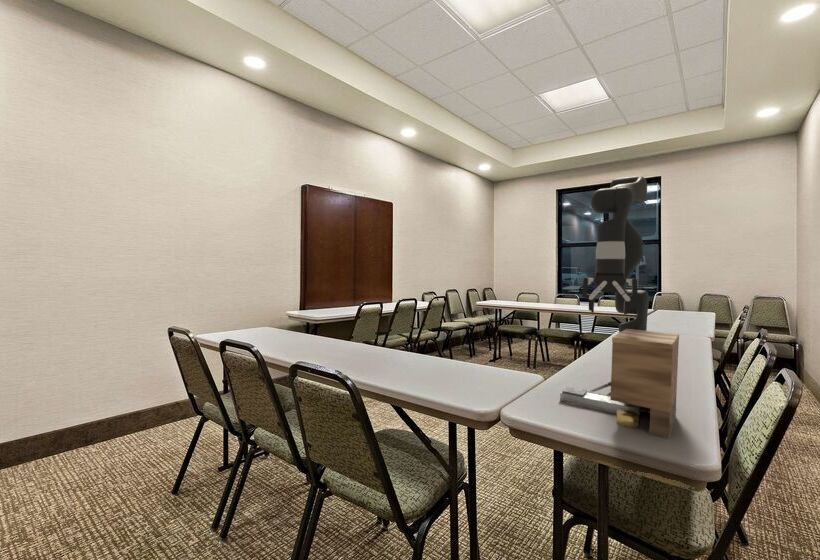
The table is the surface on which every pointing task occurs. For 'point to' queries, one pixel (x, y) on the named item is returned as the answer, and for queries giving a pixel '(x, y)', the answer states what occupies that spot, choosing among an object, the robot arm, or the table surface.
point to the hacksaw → (601, 388)
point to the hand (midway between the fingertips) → (608, 313)
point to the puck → (627, 418)
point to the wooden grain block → (647, 375)
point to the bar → (595, 401)
